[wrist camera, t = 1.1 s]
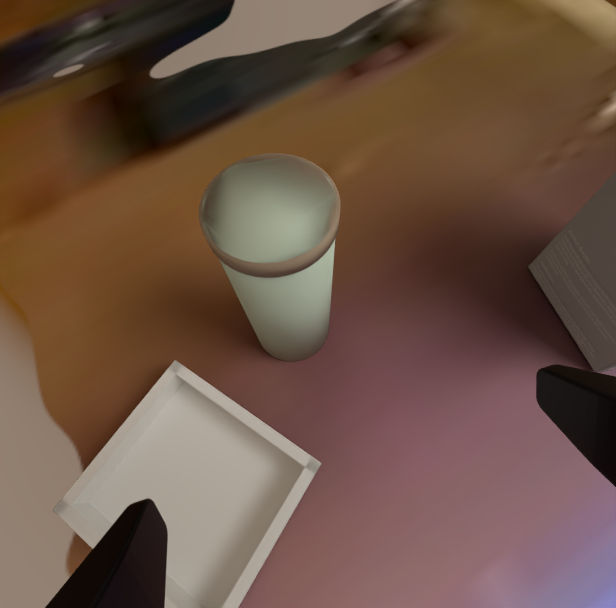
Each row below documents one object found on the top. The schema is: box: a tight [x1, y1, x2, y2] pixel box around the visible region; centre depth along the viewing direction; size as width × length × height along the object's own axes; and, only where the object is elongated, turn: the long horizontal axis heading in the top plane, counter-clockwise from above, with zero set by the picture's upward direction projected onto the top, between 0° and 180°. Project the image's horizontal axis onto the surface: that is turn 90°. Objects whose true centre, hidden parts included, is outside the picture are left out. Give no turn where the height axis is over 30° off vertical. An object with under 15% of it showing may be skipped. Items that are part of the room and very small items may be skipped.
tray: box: [53, 360, 321, 608], centre depth 19 cm, size 9×10×2 cm
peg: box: [199, 153, 340, 361], centre depth 18 cm, size 5×5×12 cm
